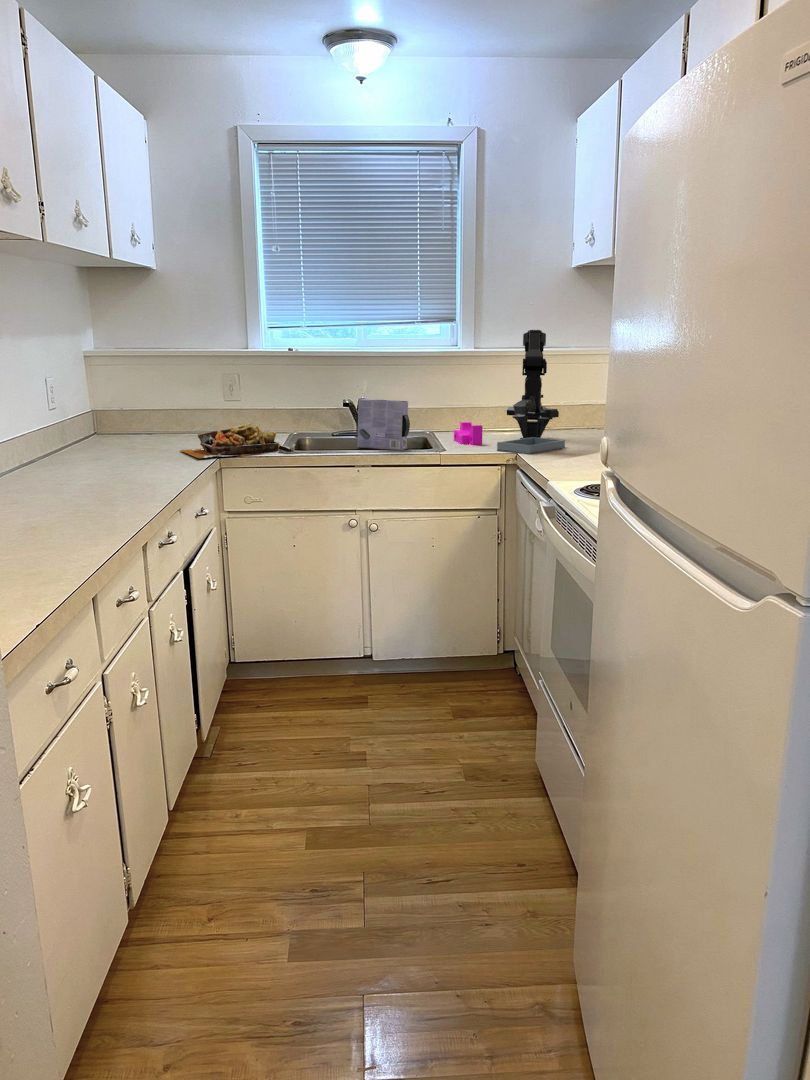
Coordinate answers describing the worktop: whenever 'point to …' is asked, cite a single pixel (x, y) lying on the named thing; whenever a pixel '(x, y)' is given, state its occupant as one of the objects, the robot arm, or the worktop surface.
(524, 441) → the tray
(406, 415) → the cake pan box
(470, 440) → the toy block
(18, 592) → the worktop surface
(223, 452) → the food tray
